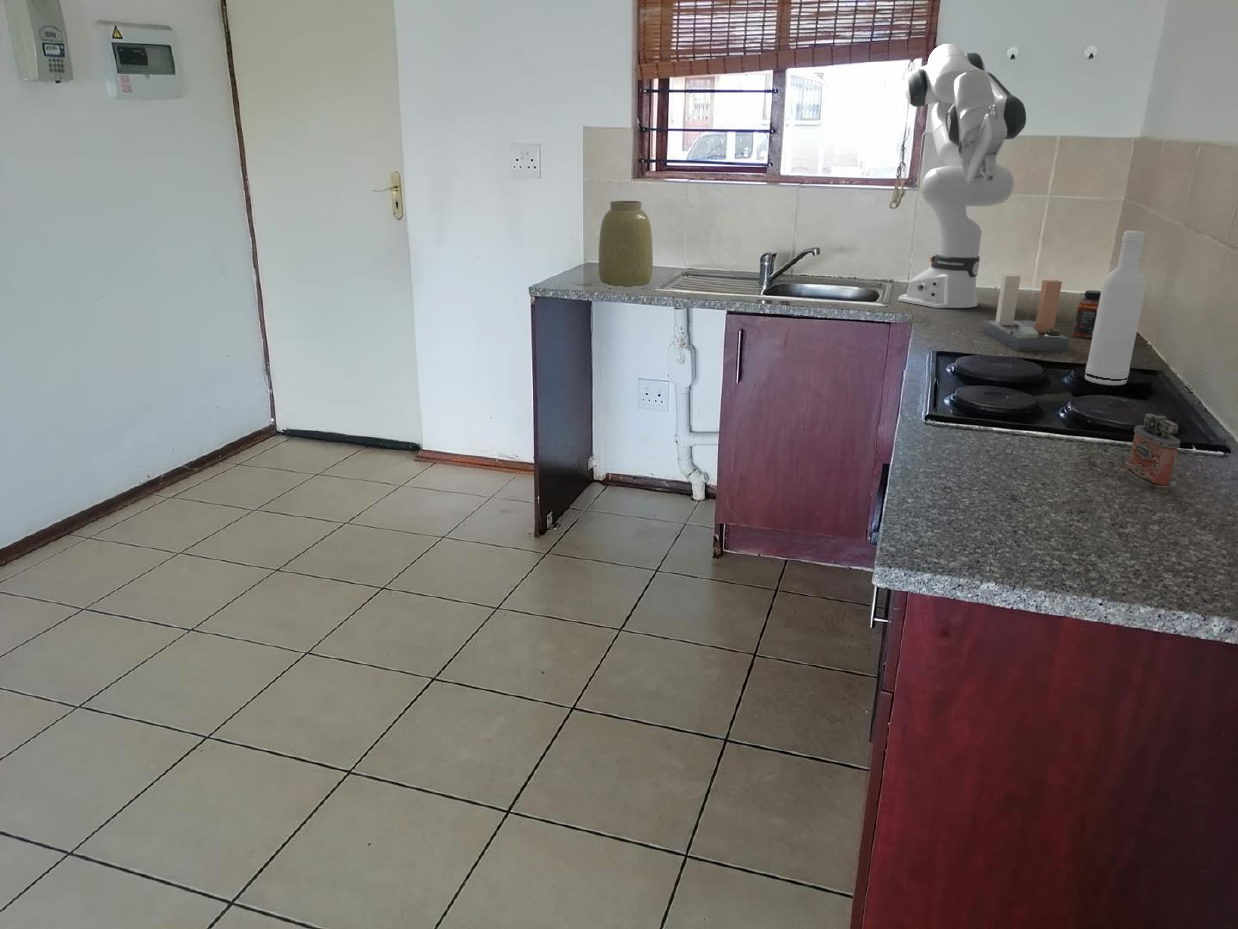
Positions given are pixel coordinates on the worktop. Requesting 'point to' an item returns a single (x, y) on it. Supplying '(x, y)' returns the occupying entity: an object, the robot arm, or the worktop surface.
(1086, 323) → the supplement bottle
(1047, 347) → the platform
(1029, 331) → the rocker
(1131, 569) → the worktop surface
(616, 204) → the vase
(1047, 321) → the tall salmon pillar
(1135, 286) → the bottle
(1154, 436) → the lighter
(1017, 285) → the cream rectangular block
